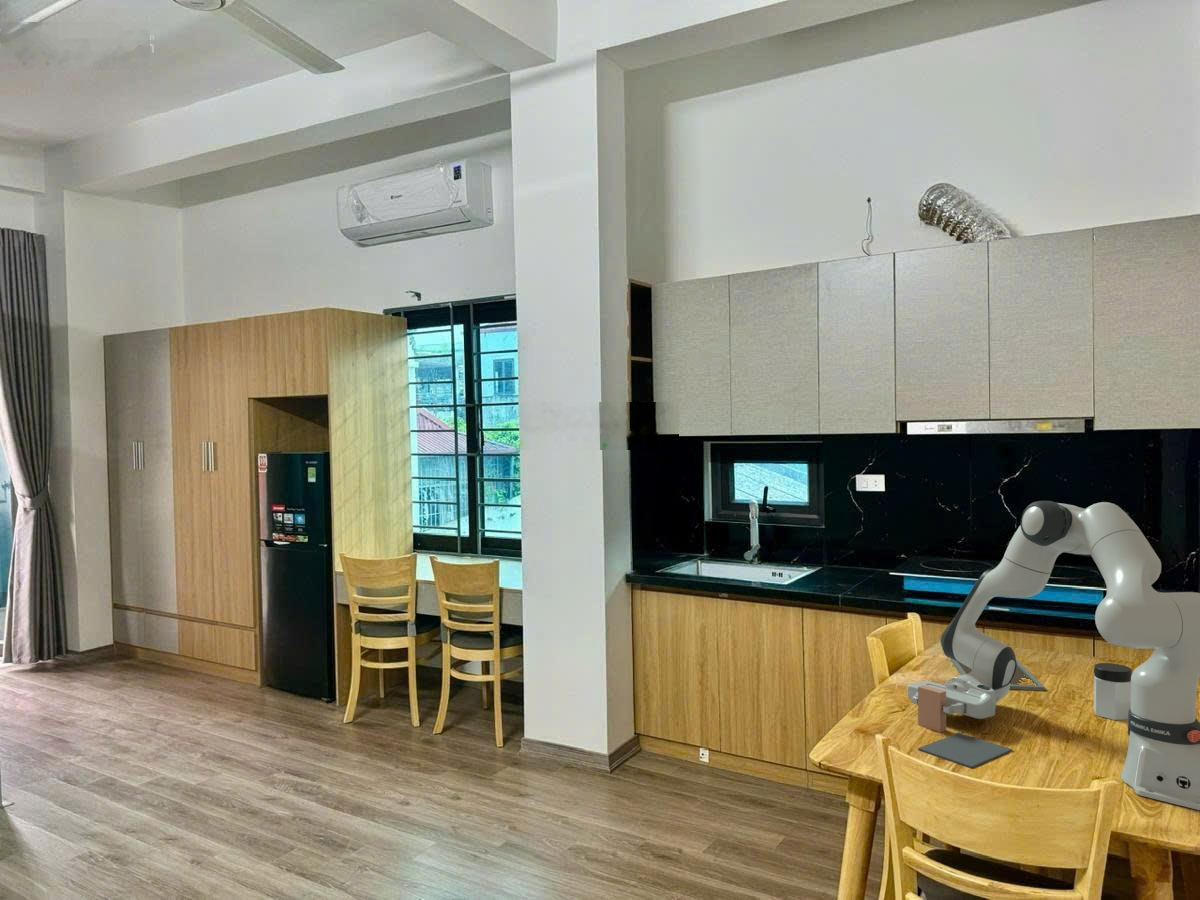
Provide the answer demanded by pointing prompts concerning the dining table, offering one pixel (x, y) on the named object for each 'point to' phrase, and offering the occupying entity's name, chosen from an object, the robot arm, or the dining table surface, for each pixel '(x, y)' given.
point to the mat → (965, 750)
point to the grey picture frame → (1017, 676)
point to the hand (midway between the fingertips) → (929, 705)
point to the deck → (931, 708)
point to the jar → (1112, 690)
